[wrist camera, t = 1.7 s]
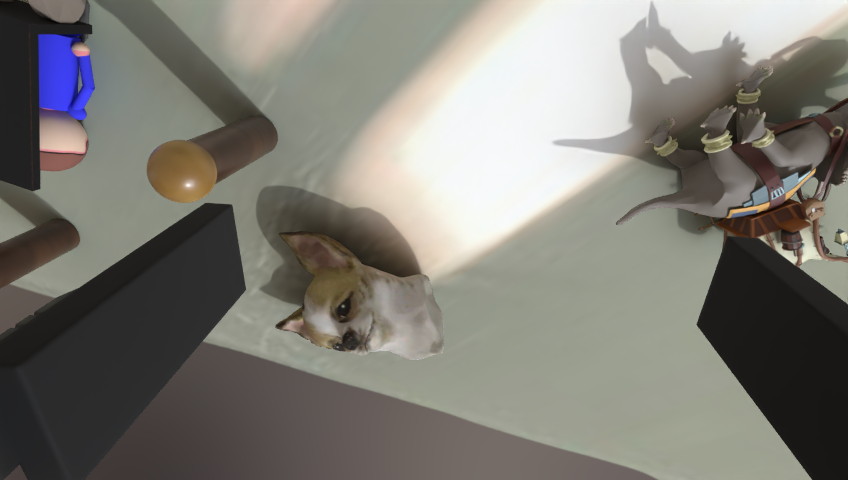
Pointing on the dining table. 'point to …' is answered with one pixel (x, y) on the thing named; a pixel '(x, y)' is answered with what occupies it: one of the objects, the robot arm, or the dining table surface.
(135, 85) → the dining table surface
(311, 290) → the ceramic sculpture
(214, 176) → the brown posts with balls
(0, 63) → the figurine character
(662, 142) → the figurine
